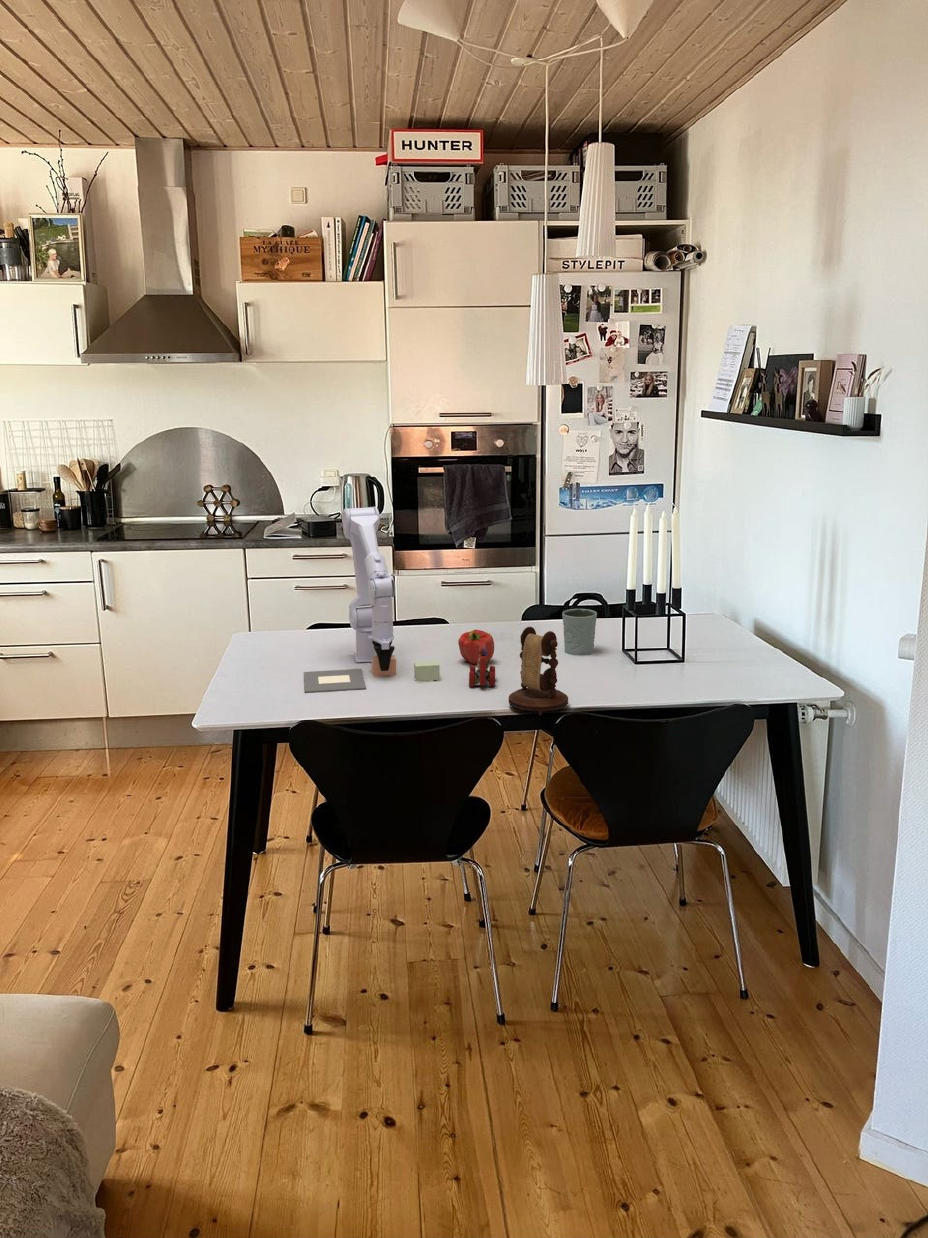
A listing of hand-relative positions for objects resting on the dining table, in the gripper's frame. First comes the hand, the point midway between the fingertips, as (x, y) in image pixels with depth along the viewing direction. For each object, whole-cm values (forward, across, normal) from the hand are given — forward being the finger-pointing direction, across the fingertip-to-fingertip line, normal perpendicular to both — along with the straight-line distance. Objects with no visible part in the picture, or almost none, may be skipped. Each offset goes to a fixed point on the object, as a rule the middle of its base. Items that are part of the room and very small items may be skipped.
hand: (383, 668), depth 276 cm
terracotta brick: (+2, 0, 0) cm, 2 cm away
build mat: (+1, +5, -14) cm, 15 cm away
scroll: (+2, +37, +35) cm, 51 cm away
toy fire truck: (+2, +15, +25) cm, 29 cm away
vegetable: (+2, -5, +27) cm, 28 cm away
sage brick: (+2, +8, +11) cm, 14 cm away
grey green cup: (+2, -10, +59) cm, 60 cm away
